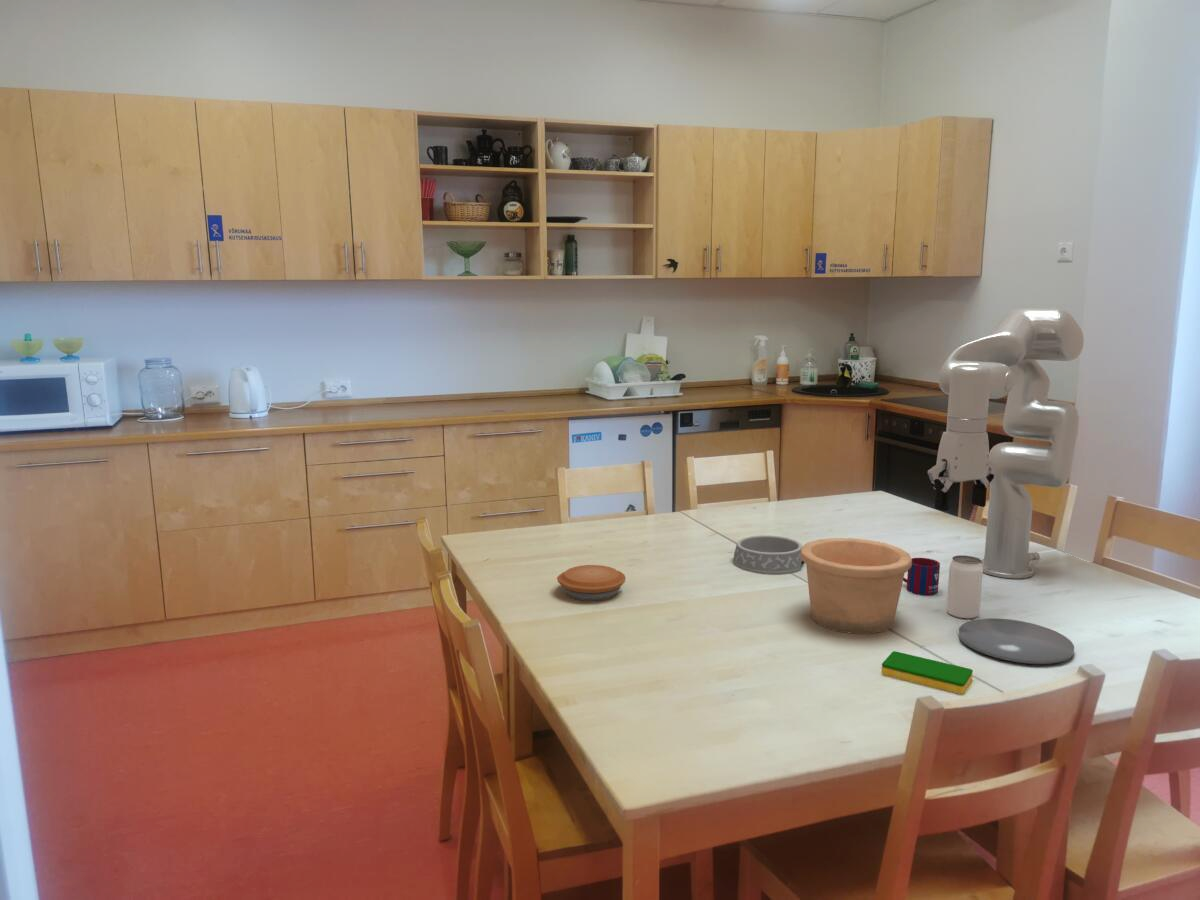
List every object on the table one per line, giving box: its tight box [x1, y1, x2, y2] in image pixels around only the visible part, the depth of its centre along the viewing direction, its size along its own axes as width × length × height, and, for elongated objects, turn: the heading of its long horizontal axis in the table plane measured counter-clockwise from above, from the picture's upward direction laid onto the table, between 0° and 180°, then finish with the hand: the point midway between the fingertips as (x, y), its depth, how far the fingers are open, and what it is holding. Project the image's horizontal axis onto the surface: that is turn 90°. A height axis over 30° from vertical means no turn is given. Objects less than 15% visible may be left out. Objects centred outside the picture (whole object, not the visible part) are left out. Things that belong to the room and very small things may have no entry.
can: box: [945, 554, 984, 620], centre depth 180 cm, size 6×6×12 cm
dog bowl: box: [732, 534, 803, 576], centre depth 215 cm, size 17×18×5 cm
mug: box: [903, 557, 941, 596], centre depth 196 cm, size 7×10×7 cm
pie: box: [556, 564, 626, 602], centre depth 194 cm, size 16×16×5 cm
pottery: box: [801, 537, 912, 634], centre depth 177 cm, size 22×22×14 cm
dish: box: [958, 617, 1075, 665], centre depth 165 cm, size 20×20×1 cm
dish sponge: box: [881, 650, 974, 695], centre depth 151 cm, size 7×14×2 cm, turn 55°
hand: (960, 507), depth 177 cm, fingers open, 9 cm apart
